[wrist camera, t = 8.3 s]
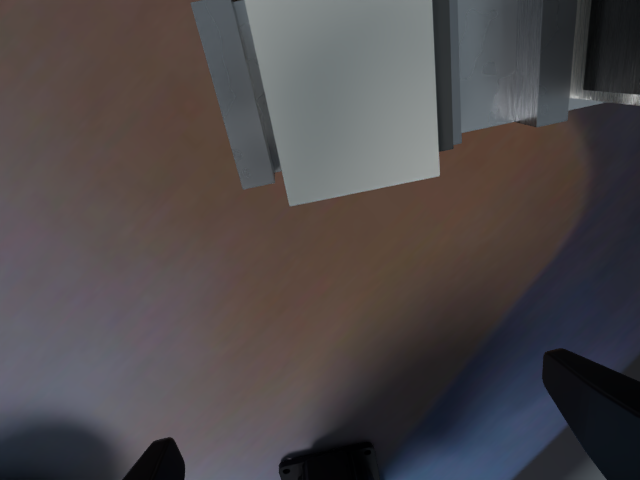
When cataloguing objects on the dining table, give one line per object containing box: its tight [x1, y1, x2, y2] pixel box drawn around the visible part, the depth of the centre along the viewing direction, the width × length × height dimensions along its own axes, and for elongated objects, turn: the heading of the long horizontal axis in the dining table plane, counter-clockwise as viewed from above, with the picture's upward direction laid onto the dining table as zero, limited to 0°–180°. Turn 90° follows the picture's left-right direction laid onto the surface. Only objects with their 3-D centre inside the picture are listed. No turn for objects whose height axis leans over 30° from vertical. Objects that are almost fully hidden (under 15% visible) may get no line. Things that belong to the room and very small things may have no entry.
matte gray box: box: [244, 0, 453, 206], centre depth 12 cm, size 5×5×6 cm
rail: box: [191, 0, 640, 189], centre depth 13 cm, size 6×20×8 cm, turn 101°
